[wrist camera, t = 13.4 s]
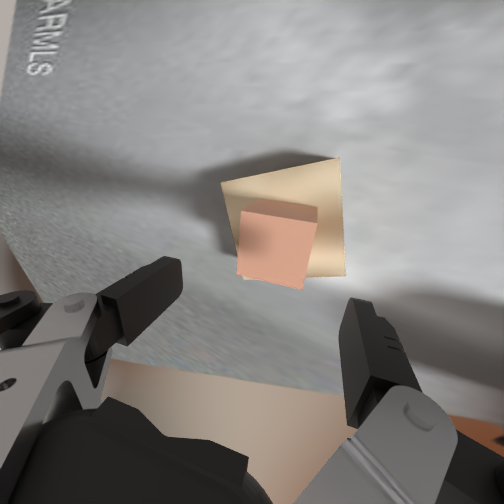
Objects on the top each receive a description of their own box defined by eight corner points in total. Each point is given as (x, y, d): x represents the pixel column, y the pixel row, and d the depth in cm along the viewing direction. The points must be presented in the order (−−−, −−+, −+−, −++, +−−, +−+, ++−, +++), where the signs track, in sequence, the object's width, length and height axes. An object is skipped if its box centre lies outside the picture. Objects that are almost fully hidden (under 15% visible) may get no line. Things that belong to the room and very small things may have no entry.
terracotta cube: (259, 198, 18) (241, 210, 14) (317, 207, 17) (317, 223, 13) (254, 250, 21) (236, 274, 16) (305, 260, 20) (302, 289, 15)
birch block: (238, 178, 23) (220, 182, 19) (335, 158, 20) (339, 157, 16) (255, 260, 27) (243, 279, 22) (340, 254, 23) (345, 276, 19)
